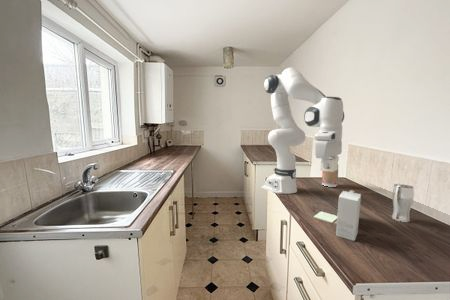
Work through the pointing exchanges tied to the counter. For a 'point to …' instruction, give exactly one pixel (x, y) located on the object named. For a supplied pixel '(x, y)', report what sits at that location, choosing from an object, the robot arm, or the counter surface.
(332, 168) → the lettered cube
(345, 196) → the skincare box
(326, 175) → the fruit juice
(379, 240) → the counter surface
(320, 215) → the pad
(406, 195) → the beer glass
